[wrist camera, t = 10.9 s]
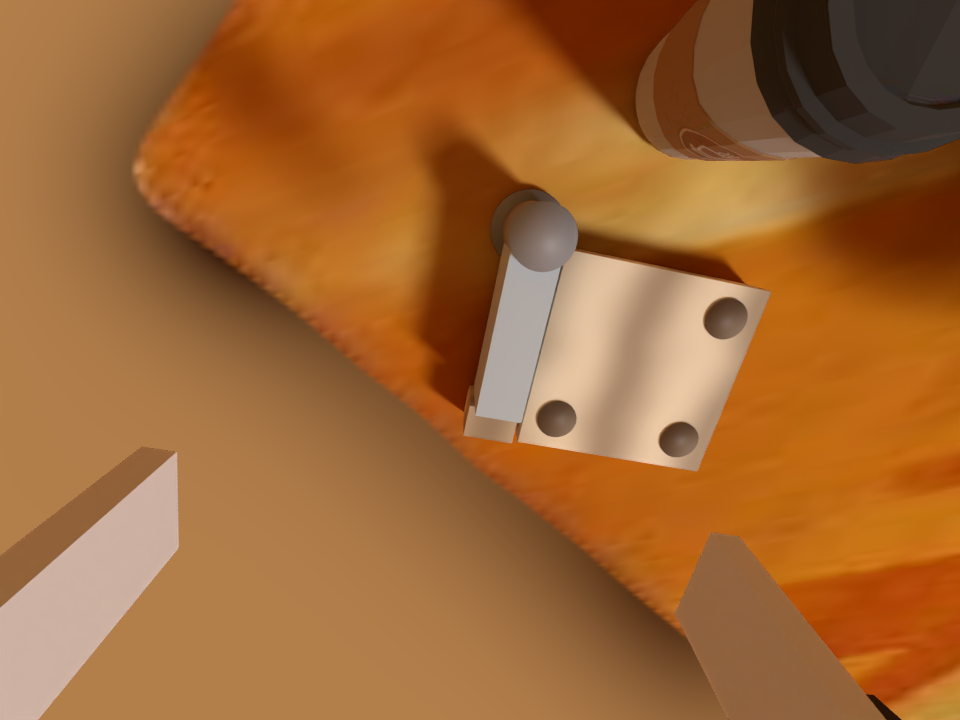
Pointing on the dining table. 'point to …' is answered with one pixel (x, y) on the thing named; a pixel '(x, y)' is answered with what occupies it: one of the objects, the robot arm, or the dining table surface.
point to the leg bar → (521, 305)
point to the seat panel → (629, 358)
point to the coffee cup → (804, 80)
